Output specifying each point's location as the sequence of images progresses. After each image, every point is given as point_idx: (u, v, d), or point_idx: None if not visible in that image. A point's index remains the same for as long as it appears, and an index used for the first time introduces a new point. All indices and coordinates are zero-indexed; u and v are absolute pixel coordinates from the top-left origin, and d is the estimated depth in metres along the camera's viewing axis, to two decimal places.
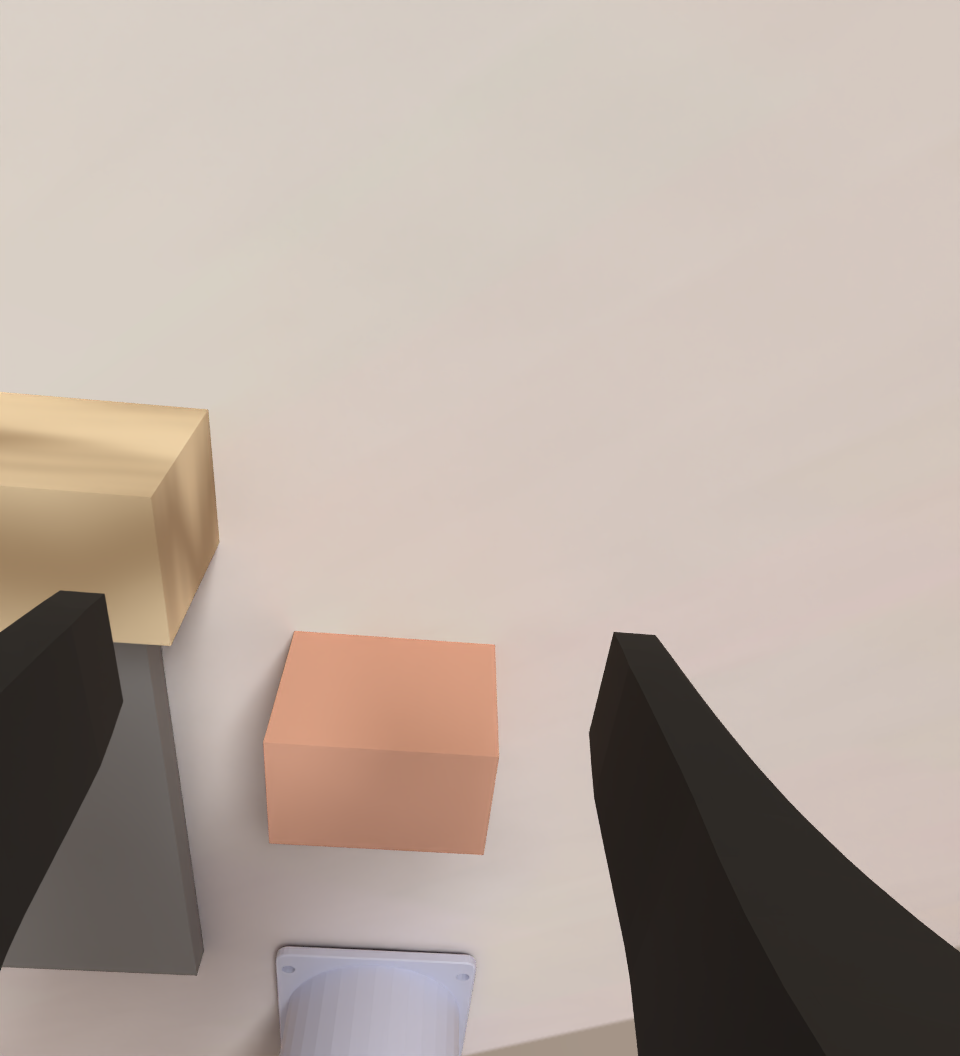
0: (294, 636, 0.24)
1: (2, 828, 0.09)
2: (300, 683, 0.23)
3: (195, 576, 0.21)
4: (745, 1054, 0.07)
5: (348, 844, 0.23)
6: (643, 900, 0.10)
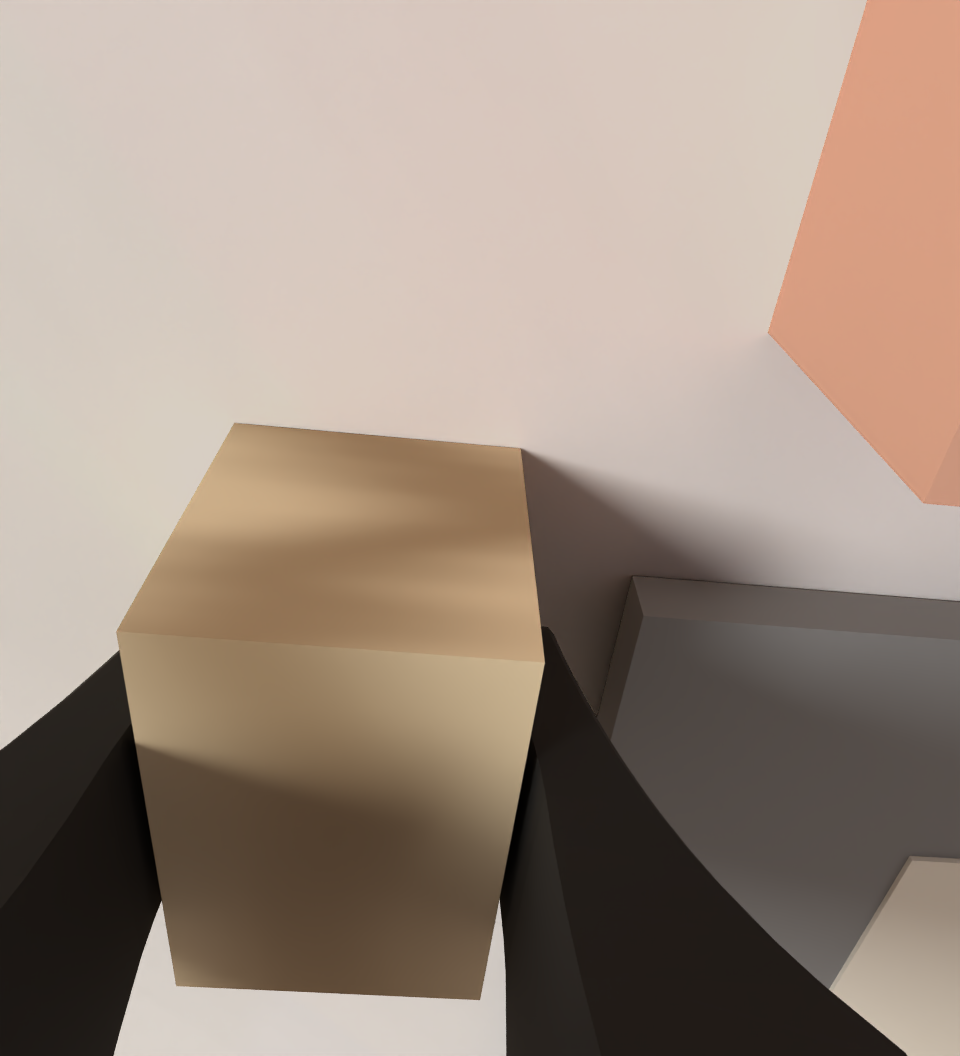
0: (774, 335, 0.11)
1: (141, 835, 0.09)
2: (846, 353, 0.09)
3: (495, 535, 0.10)
4: (558, 1046, 0.07)
5: None
6: (514, 893, 0.10)
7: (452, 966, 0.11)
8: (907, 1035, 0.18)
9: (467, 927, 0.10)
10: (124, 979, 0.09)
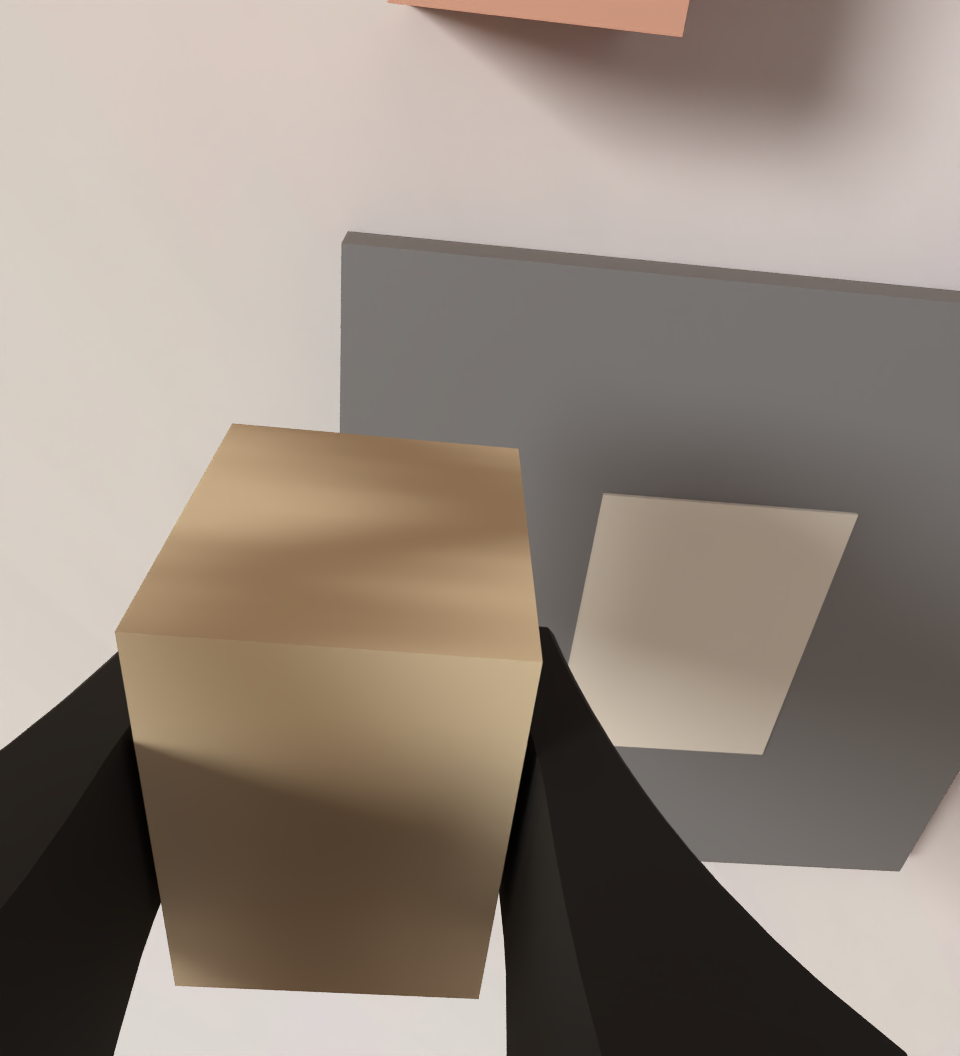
0: None
1: (141, 835, 0.09)
2: None
3: (493, 535, 0.10)
4: (558, 1046, 0.07)
5: None
6: (515, 893, 0.10)
7: (450, 965, 0.11)
8: (647, 694, 0.22)
9: (466, 926, 0.10)
10: (124, 979, 0.09)
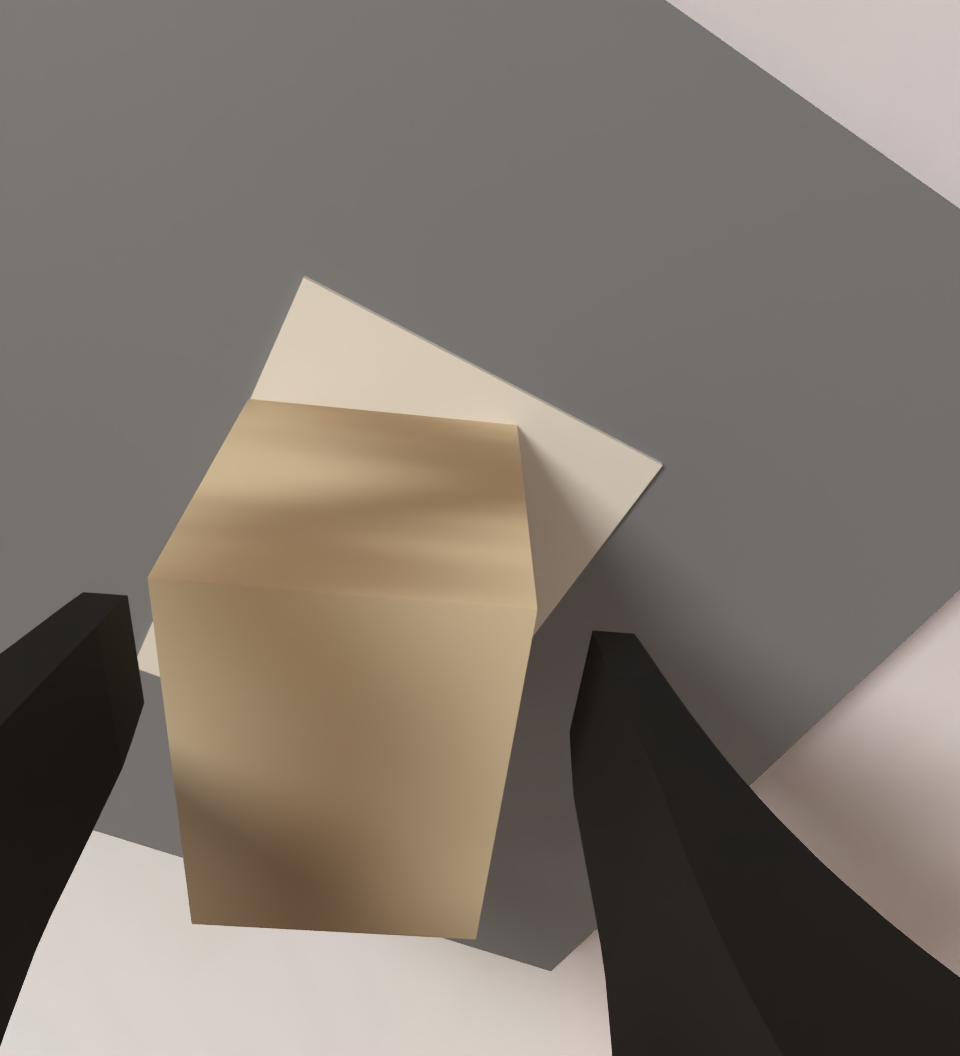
0: None
1: (30, 829, 0.09)
2: None
3: (492, 501, 0.10)
4: (708, 1052, 0.07)
5: None
6: (618, 899, 0.10)
7: (450, 905, 0.11)
8: None
9: (464, 867, 0.11)
10: (11, 974, 0.09)
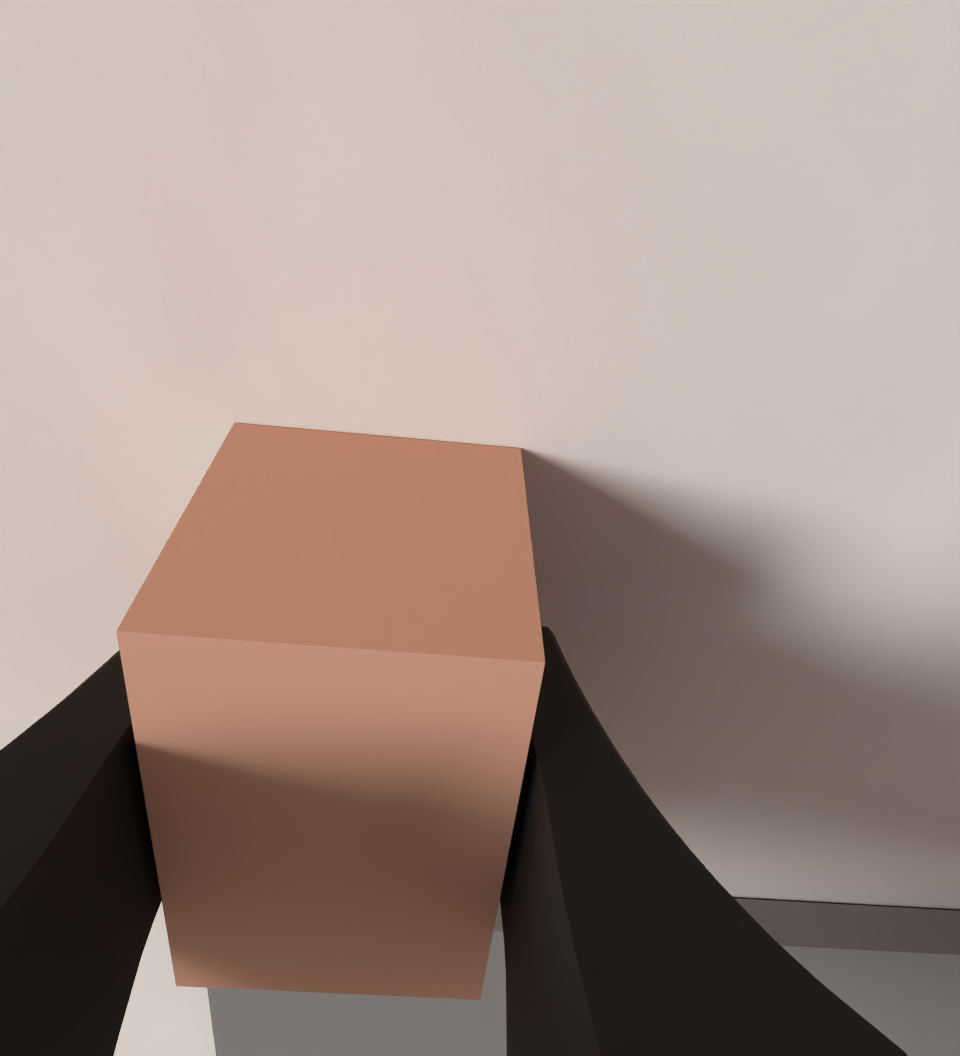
0: None
1: (141, 835, 0.09)
2: None
3: None
4: (558, 1046, 0.07)
5: (487, 901, 0.10)
6: (514, 893, 0.10)
7: None
8: None
9: None
10: (124, 979, 0.09)
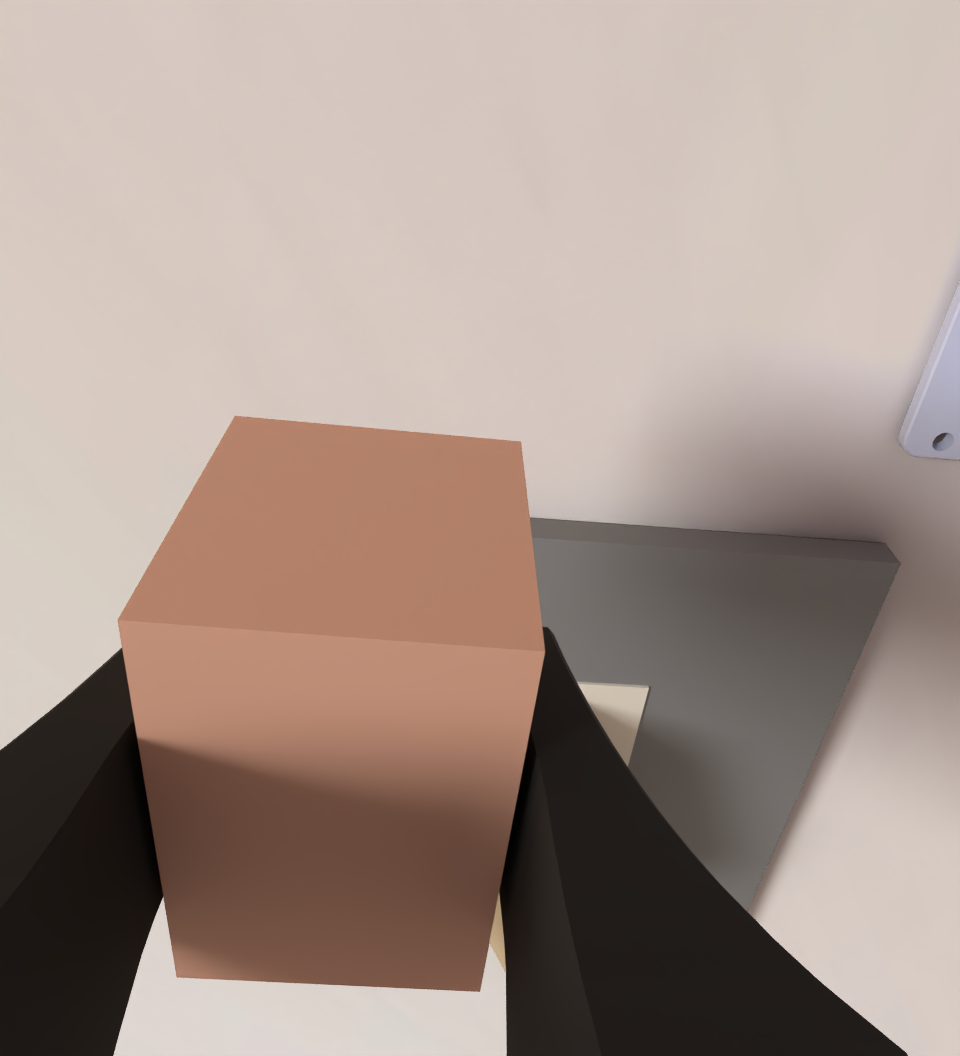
0: None
1: (141, 835, 0.09)
2: None
3: None
4: (558, 1046, 0.07)
5: (487, 892, 0.10)
6: (515, 893, 0.10)
7: None
8: None
9: None
10: (124, 979, 0.09)
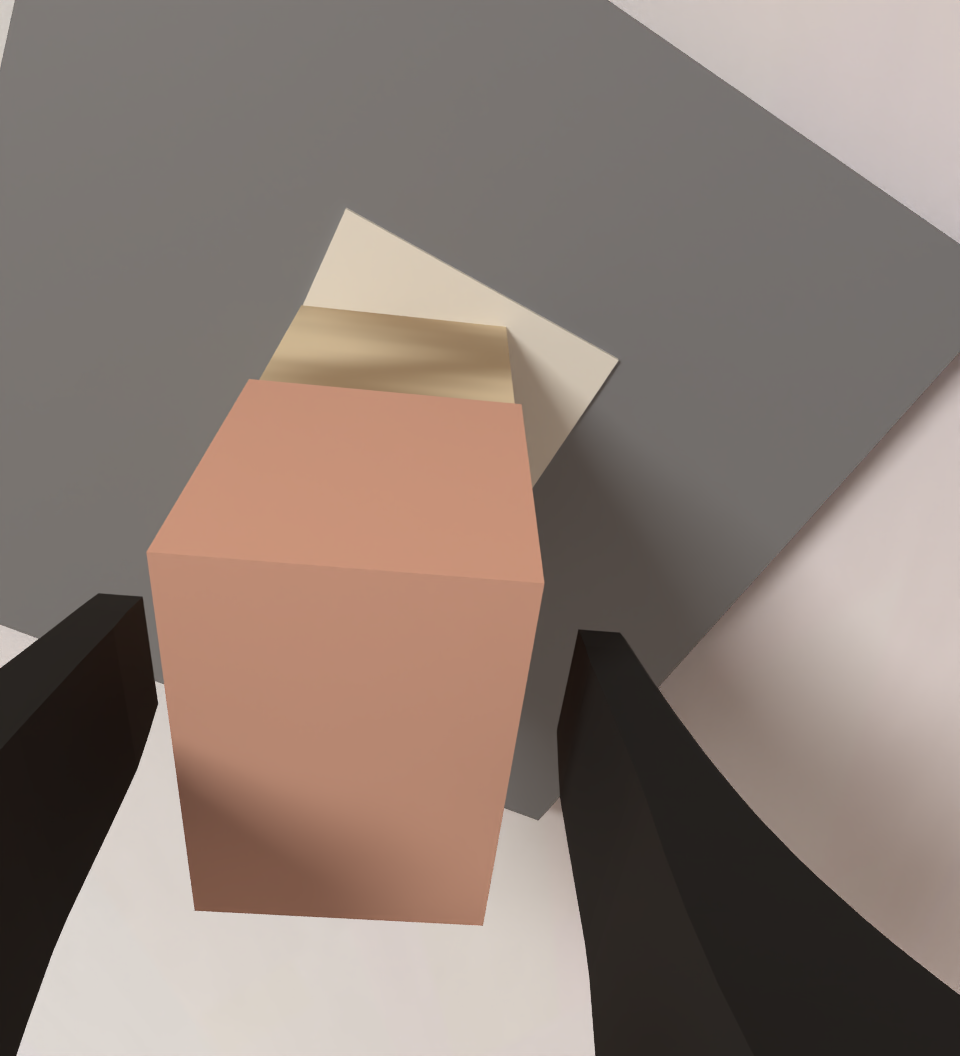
0: None
1: (48, 829, 0.09)
2: None
3: (486, 368, 0.14)
4: (684, 1051, 0.07)
5: (489, 824, 0.10)
6: (602, 898, 0.10)
7: None
8: None
9: None
10: (30, 975, 0.09)
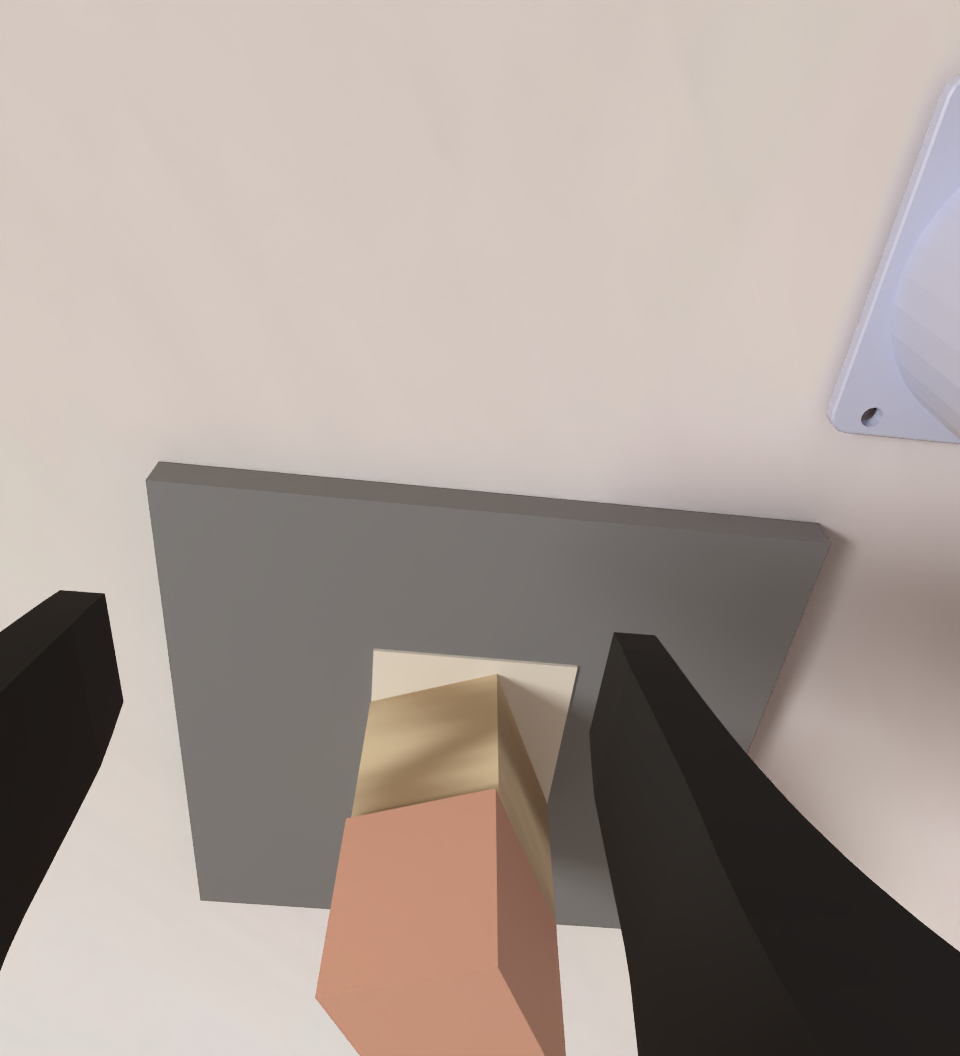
0: None
1: (2, 827, 0.09)
2: None
3: (482, 735, 0.23)
4: (745, 1054, 0.07)
5: None
6: (644, 900, 0.10)
7: None
8: None
9: None
10: None
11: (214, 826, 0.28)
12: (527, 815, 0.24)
